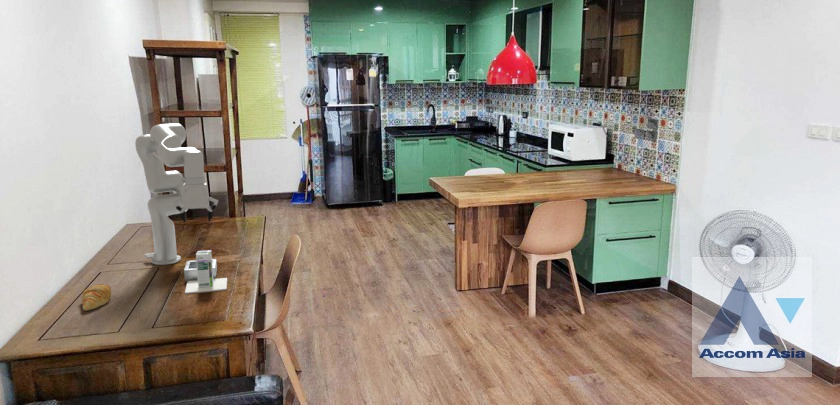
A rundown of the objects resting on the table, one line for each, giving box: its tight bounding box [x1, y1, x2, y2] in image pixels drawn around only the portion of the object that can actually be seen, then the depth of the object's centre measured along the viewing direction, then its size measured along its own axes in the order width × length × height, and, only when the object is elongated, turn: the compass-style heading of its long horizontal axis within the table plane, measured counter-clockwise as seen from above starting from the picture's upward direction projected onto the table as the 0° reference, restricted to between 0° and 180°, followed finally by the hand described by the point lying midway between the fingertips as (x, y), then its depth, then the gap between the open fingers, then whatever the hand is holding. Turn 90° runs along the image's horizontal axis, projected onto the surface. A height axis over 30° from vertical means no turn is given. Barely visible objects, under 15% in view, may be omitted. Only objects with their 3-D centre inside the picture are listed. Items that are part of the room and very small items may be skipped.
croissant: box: [81, 283, 112, 311], centre depth 217 cm, size 21×10×8 cm, turn 10°
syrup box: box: [195, 249, 214, 288], centre depth 233 cm, size 6×6×14 cm
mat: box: [184, 277, 228, 295], centre depth 235 cm, size 16×13×1 cm
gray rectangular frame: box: [183, 258, 218, 282], centre depth 250 cm, size 12×19×5 cm, turn 17°
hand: (197, 220), depth 232 cm, fingers open, 9 cm apart
